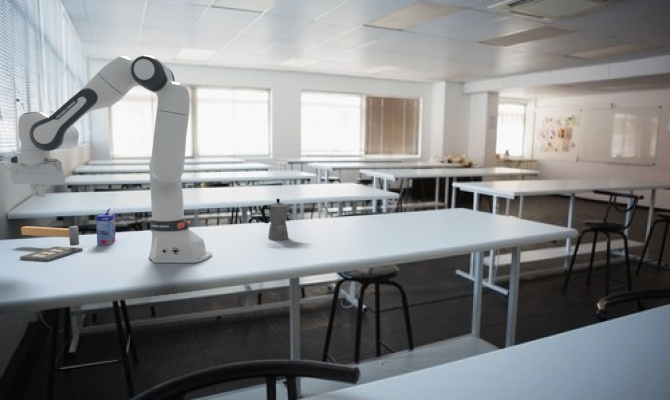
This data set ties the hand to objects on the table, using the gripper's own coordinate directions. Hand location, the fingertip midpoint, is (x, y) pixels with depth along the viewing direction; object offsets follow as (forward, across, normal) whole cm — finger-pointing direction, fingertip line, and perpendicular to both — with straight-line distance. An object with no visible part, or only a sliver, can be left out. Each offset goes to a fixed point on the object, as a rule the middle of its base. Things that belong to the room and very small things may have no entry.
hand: (39, 196), depth 160 cm
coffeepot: (+24, -70, -53) cm, 91 cm away
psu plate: (+22, 0, -3) cm, 23 cm away
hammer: (+21, +11, -14) cm, 27 cm away
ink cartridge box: (+23, -5, -25) cm, 35 cm away
